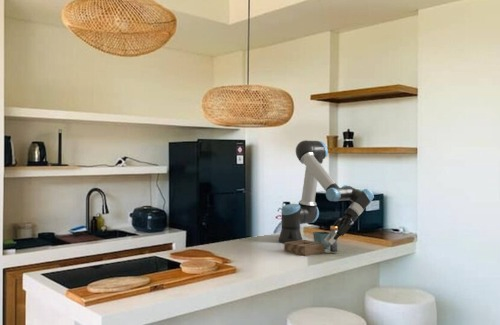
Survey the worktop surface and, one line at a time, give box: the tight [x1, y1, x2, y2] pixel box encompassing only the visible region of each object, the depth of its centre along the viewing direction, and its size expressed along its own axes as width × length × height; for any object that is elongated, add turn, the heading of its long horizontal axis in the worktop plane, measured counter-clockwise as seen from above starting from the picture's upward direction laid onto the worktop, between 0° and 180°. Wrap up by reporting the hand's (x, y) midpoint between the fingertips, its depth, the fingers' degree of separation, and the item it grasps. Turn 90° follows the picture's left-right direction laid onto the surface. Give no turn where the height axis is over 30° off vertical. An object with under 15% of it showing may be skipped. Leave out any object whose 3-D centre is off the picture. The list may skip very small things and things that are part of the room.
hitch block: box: [283, 239, 326, 257], centre depth 269 cm, size 16×16×5 cm
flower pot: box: [312, 231, 330, 249], centre depth 282 cm, size 9×9×9 cm
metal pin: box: [329, 225, 339, 253], centre depth 266 cm, size 4×4×14 cm
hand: (327, 242), depth 265 cm, fingers closed on metal pin, 4 cm apart
